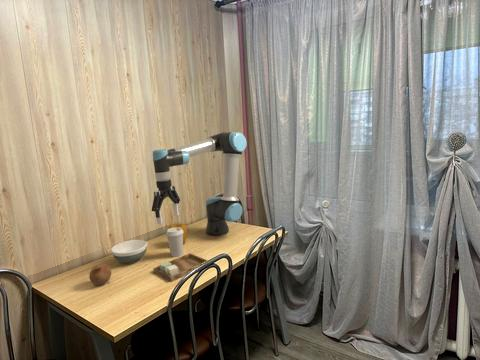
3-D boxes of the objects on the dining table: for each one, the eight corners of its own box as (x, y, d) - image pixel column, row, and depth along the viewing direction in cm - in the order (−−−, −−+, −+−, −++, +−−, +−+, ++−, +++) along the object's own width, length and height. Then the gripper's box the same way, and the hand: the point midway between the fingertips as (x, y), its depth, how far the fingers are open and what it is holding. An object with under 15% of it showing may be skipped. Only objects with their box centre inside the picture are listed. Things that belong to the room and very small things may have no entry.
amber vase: (166, 248, 183) (164, 227, 181) (173, 241, 194) (171, 221, 192) (184, 248, 181) (182, 227, 179) (190, 241, 192) (188, 221, 190)
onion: (101, 293, 143) (95, 279, 137) (88, 284, 147) (81, 271, 141) (118, 277, 150) (112, 264, 144) (104, 269, 154) (98, 256, 148)
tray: (190, 257, 168) (189, 253, 168) (209, 265, 157) (208, 260, 156) (153, 272, 153) (153, 268, 153) (171, 283, 142) (171, 278, 141)
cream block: (175, 272, 151) (174, 264, 150) (178, 275, 147) (178, 267, 147) (167, 275, 148) (166, 267, 148) (171, 278, 145) (170, 270, 144)
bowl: (107, 261, 170) (105, 247, 168) (138, 250, 183) (137, 237, 181) (122, 271, 157) (120, 256, 155) (155, 258, 170) (153, 244, 168)
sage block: (166, 269, 155) (165, 261, 154) (172, 270, 153) (171, 263, 152) (160, 272, 152) (159, 264, 151) (166, 274, 149) (165, 266, 149)
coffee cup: (182, 259, 166) (179, 232, 163) (165, 259, 168) (162, 232, 165) (188, 252, 175) (185, 226, 173) (172, 251, 177) (169, 226, 175)
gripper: (172, 175, 173) (177, 211, 177) (140, 184, 151) (146, 226, 155) (183, 175, 170) (188, 212, 174) (152, 185, 148) (158, 227, 152)
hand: (168, 219), depth 164 cm, fingers open, 13 cm apart
